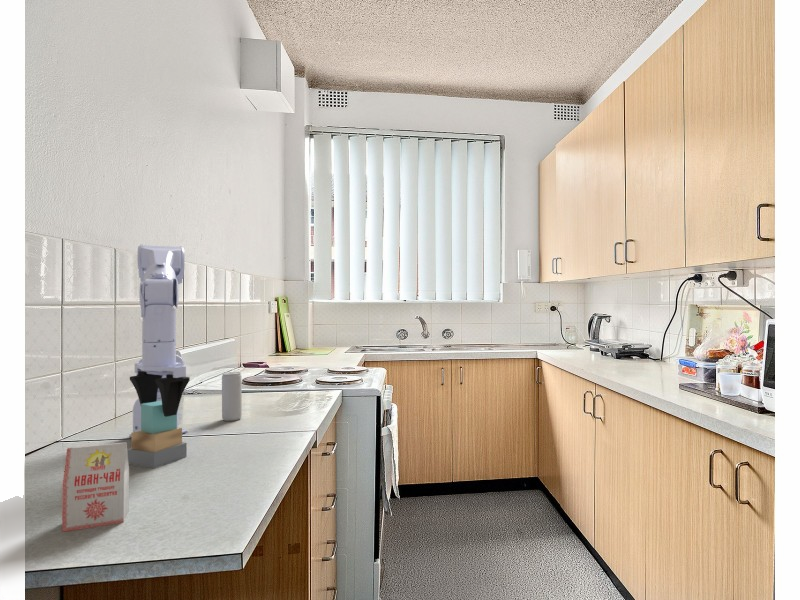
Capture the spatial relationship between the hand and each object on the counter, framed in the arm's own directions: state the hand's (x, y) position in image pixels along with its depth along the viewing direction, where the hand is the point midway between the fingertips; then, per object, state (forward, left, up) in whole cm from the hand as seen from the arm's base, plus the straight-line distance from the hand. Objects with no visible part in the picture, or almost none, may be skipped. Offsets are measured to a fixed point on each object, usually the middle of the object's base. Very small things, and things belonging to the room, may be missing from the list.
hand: (159, 413), depth 88 cm
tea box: (+15, -22, -9) cm, 28 cm away
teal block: (0, 0, -3) cm, 3 cm away
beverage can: (-11, +31, -9) cm, 34 cm away
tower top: (0, -1, -6) cm, 6 cm away
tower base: (0, 0, -9) cm, 9 cm away
